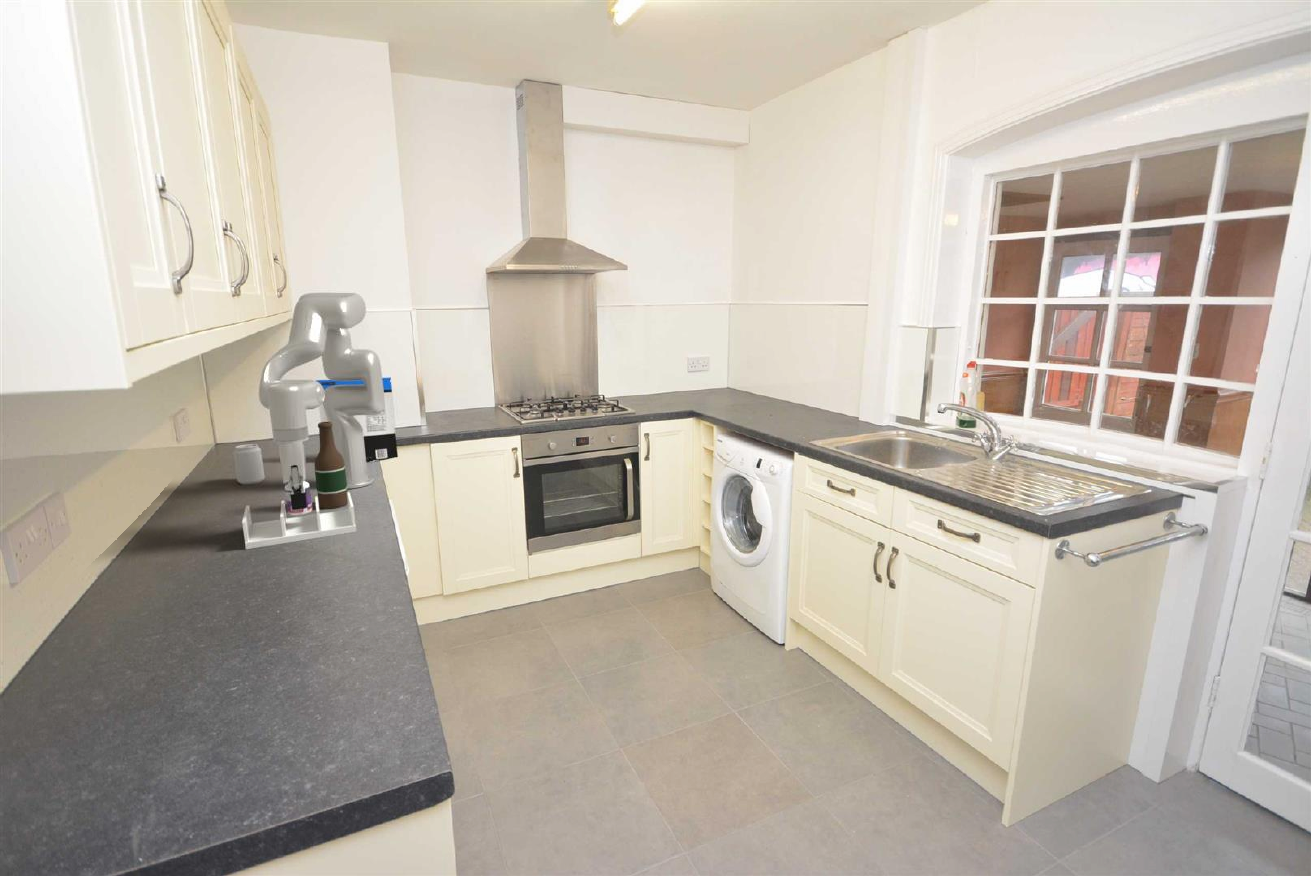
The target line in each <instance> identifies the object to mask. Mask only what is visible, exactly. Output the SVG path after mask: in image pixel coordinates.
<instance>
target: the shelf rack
mask: <svg viewBox="0 0 1311 876" xmlns="http://www.w3.org/2000/svg"><path fill="white" fill-rule="evenodd" d="M347 497H348V503H347V505H348V509H344V510H338V511H331V512H323V513H322V512H321V513H320V506H319V501H318V495H317V496H315V497H314V499H315V500H314V501H315V509H316V514H308V515H300V516H294V517H288V518H287V512H286V505H285V500H281V503H280V516H279V518H280V519H274V520H267V521H260V522H254V523H252V515H251V508H250V505H246V506H245V510H244V513H243V517H242V521H241V524H242V530H243V536H244V545H245V549H246V550H250V549H255V548H263V547H268V546H276V545H281V544H288V543H295V542H301V541H307V540H313V539H318V538H319V539H320V538H325V537H326V538H327V537H331V536H337V535H345V534H348V533H355V532H357V524H356V518H355V517H356V515H355V508H354V503H353V502H354V501H353V500H352V496H351V493H350V491H348V492H347ZM344 533H345V534H344Z"/></svg>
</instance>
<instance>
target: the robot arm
mask: <svg viewBox="0 0 1311 876" xmlns="http://www.w3.org/2000/svg"><path fill="white" fill-rule="evenodd" d="M366 306H367V305H366V302H365V300H364V298H363V297H362V296H361V295H360V294H358V293H356V292H309V293H305V294H302V295H301V296H299V298H298V301H297V302H296V303H295V306H294V308H293V309H294V310H293V313H292V314H293V316H292V321H291V325H290V326H291V327H290V331H289V337H288V342H287V344H285V346H283V347H282V348H280V349H279V350H278V351H276V352H275V353H274V354H273V355H272V356H271V357H270V359H268V360H267V362H266V363H265V364H264V366H263V369H262V372H261V375H260V376H261V377H260V381H259V386H258V398H259V401H260V404H261V405H262V406H263V407H264V408H265V409H266V410H269V415H270V416H269V417H270V423H271V431H272V433H271V434H272V440H273V443H275V444H278V450H279V451H278V452H279V458H280V459H279V461H280V468H281V474H282V476H281V477H282V478H281V479H282V482H283V484H287V483H288V482H289V479H290V487H291V494H290V496H291V504H292V509H293V510H298V509H305V508H307V502H306V494H305V492H304V487H303V481H305V482H306V480H307V479H306V478H307V477H306V476H307V461H306V460H307V459H306V450H305V441H308V440H309V439H310V436H309V429H308V428H309V427H308V421H307V420H308V419H307V411H306V410H314V409H317V408H319V406H320V405H321V404H322V403H323V407H324V410H325V413H326V417H327V421H328V422H332V425H333V426H332V431H333V437H334V442H335V446H336V449H337V451H338V452H339V453H340V454H341V455H342V457H343V459H344V463H345V470H346V479H347V488H348V490H349V489H351V490H352V489H357V488H362V487H366V486H369V485H371V484H373V483H374V477H372V476H370V475H368V467H367V466H368V465H367V463H366V455H365V446H364V436H363V429H362V426H361V425H360V423H359V422H358V421H357V420H356V419H355V418H354V417H353V416H356V415H376V414H380V413H381V412H382V411H383V410H384V405H385V399H384V390H383V381H382V378H383V373H382V366H381V360H380V358H379V356H378V354H377V352H375V351H374V350H371V349H365V348H364V349H354V347H353V345H352V340H351V333H350V331H349V329H351V328H354V327H355V326H358V324H360V323H362V322H363V321H364V319H365V317H366V313H367V311H366V310H367V309H366V308H367V307H366ZM320 357H321V362H322V368H323V372H324V376H325V377H326V379H327V380H333V381H364V383H365V385H335V386H331V387H328V388H326V389H325V390H324V389H323V387H322V385H321V384H320V383H319V382H317V381H316V380H312V379H282V378H283V377H284V375H286V374H287V373H288V372H289V371H291V370H293V369H295V368H297V367H300V366H302V365H305V364H308V363H310V362H312V361H314V360H316V359H319V358H320ZM300 476H301V477H300ZM299 478H301V480H300V481H299ZM291 479H293V481H292V480H291ZM299 483H301V485H300V484H299Z"/></svg>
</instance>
